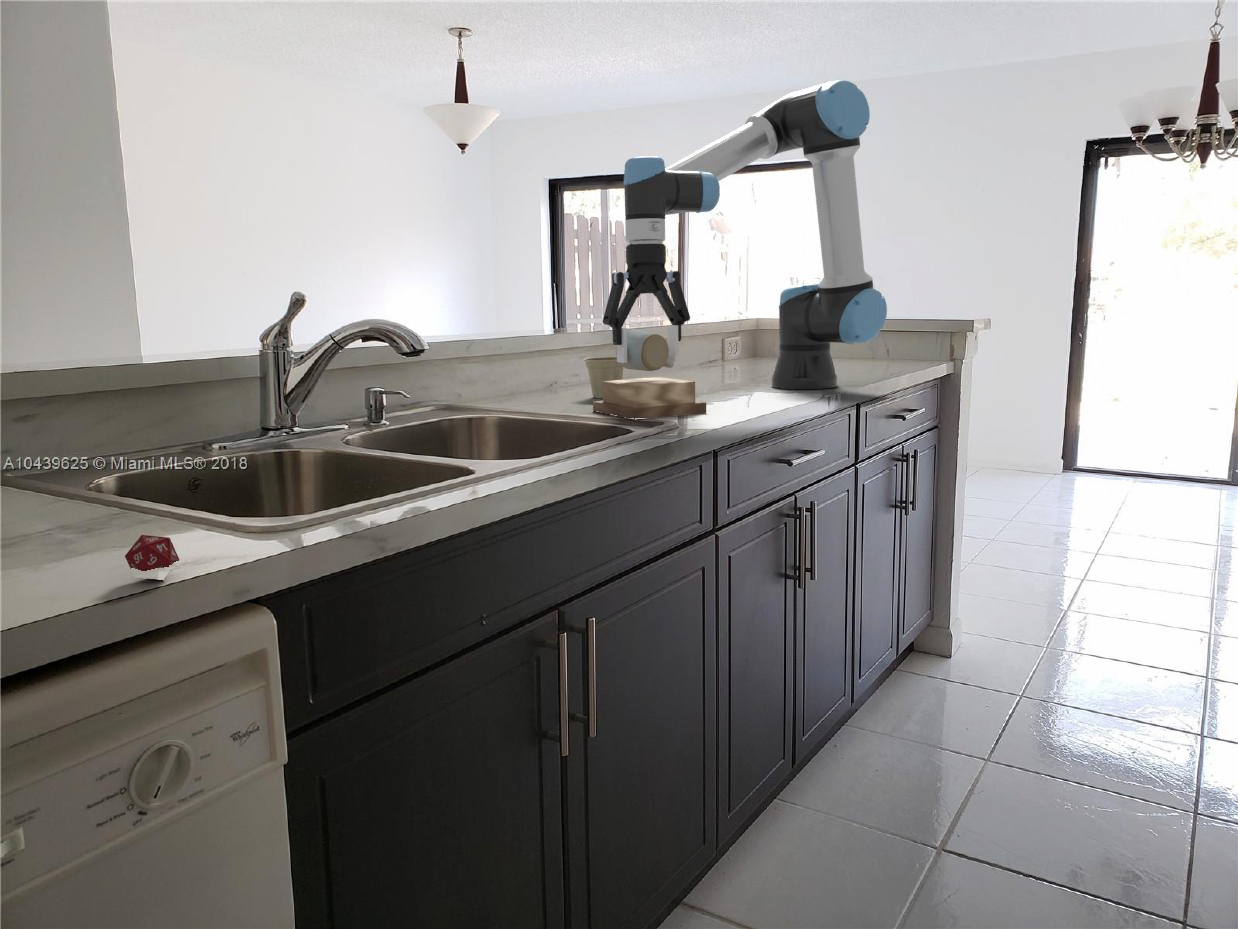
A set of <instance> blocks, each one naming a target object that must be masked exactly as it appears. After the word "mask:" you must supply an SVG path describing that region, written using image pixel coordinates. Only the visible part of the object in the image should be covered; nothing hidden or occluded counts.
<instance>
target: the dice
mask: <svg viewBox="0 0 1238 929" xmlns="http://www.w3.org/2000/svg"><path fill="white" fill-rule="evenodd" d="M124 557H125V559H126V562H127V564H128V566H129V569H131V568H135V569H138V570H141V571H147V570H151V569H155V568H164V567H169V565H172V564H173V563H174V562H176V561H178V562H179V561H180V557H179V555H178V553H177V551H176V549H175V547H174V544H173V542H172V540H171V537H168V536H167V537H166V536H157V535H156V536H155V535H146V534H144V535H143V534H141V535H140V536H139V538H138V539H137V540H136V541H135V542H134V544H133V545H132V546H131V547H130V549H129V550H128V551H127V553H126V554H125V555H124Z"/></svg>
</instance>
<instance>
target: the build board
mask: <svg viewBox="0 0 1238 929" xmlns="http://www.w3.org/2000/svg"><path fill="white" fill-rule="evenodd" d="M593 411H599V412H602V413H605V414H604V415H607V414H613V415H617V416H621V417H626V418H634V419H635V418H653V419H660V418H659V417H662V418H670V416H671V417H678V416H688V415H689V416H690V415H697V414H707V402H706V401H701V400H700V401H699V400H695V402H693V403H683V404H673V405H663V406H653V407H643V408H634V407H629V406H624V405H618V404H613V403H608V402H603V400H595V401H594V400H593V401H592V412H593ZM602 413H601V414H602ZM621 417H620V418H621ZM626 418H625V419H626Z"/></svg>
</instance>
